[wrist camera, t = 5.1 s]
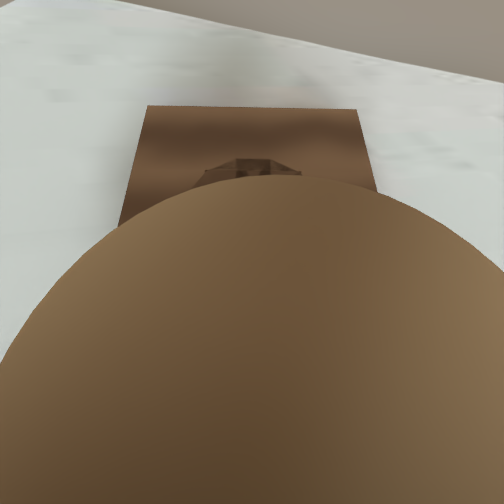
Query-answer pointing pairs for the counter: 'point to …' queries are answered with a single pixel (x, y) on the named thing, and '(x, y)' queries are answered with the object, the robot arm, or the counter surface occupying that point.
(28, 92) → the counter surface
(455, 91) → the counter surface
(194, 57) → the counter surface
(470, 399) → the dowel
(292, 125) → the seat block
